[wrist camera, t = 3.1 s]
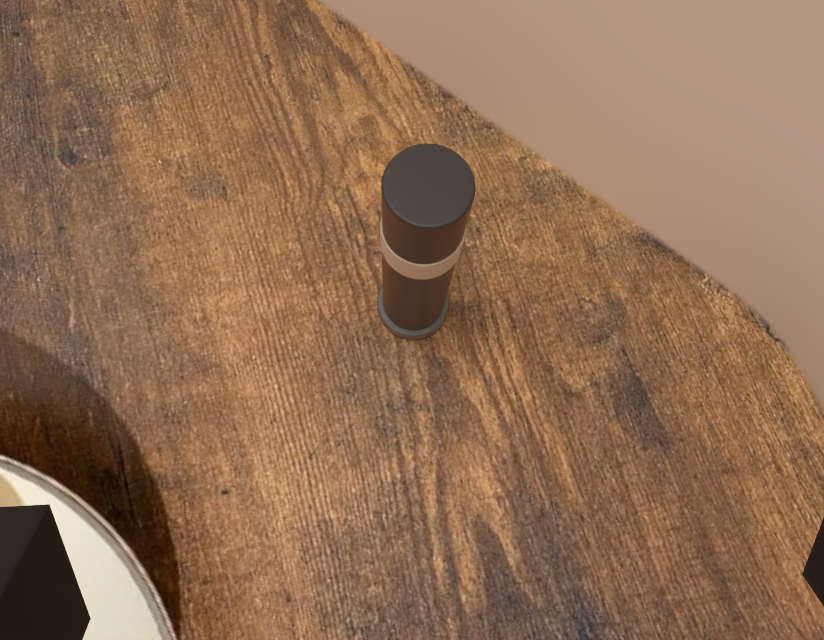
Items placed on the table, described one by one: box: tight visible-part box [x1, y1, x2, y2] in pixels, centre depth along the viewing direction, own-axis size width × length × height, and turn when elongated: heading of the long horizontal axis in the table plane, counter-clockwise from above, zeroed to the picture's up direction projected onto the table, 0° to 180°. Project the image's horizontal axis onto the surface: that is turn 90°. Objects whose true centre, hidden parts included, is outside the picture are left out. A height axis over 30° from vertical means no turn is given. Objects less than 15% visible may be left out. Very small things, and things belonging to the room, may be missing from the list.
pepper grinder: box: [377, 144, 475, 340], centre depth 21 cm, size 3×3×10 cm
